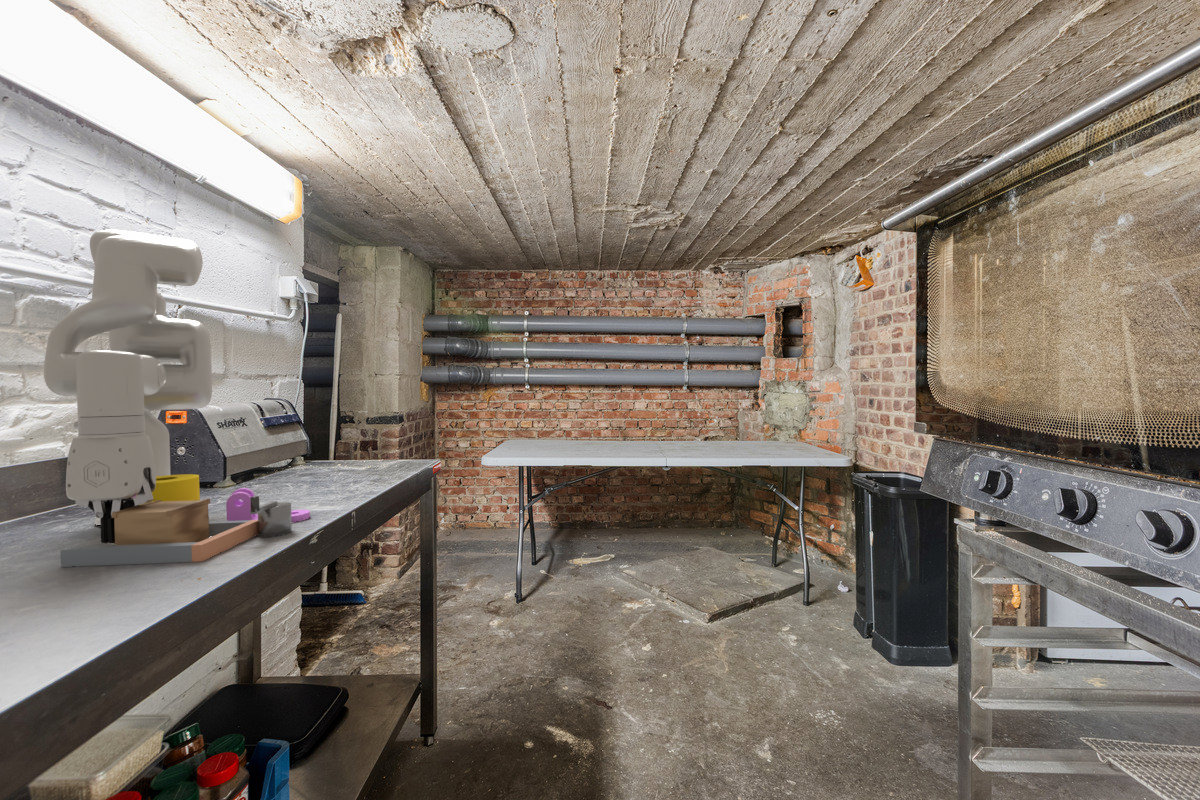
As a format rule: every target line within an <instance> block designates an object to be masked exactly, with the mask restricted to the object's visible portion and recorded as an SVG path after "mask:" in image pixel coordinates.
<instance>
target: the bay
mask: <svg viewBox="0 0 1200 800" xmlns="http://www.w3.org/2000/svg"><path fill="white" fill-rule="evenodd" d="M255 535H257V536H258V520H238V521H227V520H216V521H215V520H213V521H210V520H209V537H210V536H212V537H210V538H208V539H205V540H203V541H200V542H189V543H162V544H135V545H115V544H112V545H109V544H108V545H90V546H89V545H87V546H85V545H83V546H82V545H81V546H70V547H66V548H62V549H60V550H59V552H60V554H59V555H60V556H59V557H60V568H68V567H69V568H70V567H72V566H76V567H98V566H120V565H143V564H145V565H146V564H166V563H167V564H169V563H191V562H193V563H194V562H198V563H199V562H204V561H206V560H208V559H211V558H213V557H215V556H217V555H218V554H221V553H223V552H225V551H227V550H229V549H231V548H233V546H234V547H236V546H237V544H238V545H240V544H242V543H244V542H246V541H248V540H250V539H252V538H254V537H256V536H255ZM253 536H254V537H253ZM251 537H252V538H251ZM249 538H250V539H249ZM247 539H248V540H247ZM245 540H246V541H245ZM241 542H242V543H241ZM239 543H240V544H239ZM235 545H236V546H235ZM220 552H221V553H220ZM214 555H215V556H214ZM212 556H213V557H212ZM210 557H211V558H210Z"/></svg>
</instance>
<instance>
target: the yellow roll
mask: <svg viewBox="0 0 1200 800" xmlns="http://www.w3.org/2000/svg"><path fill="white" fill-rule="evenodd" d="M200 493H201V492H200V475H199V474H193V473H188V474H187V473H185V474H182V473H181V474H170V475H166V476H156V486H155V489H154V491H153V492H152V496H153V501H157V500H161V502H162V501H194V500H201V499H200V498H201V497H200V496H201V495H200ZM136 497H137V496H136ZM153 501H151V502H153ZM148 503H149V502H148ZM144 504H146V503H144ZM140 505H142V504H140Z"/></svg>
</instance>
